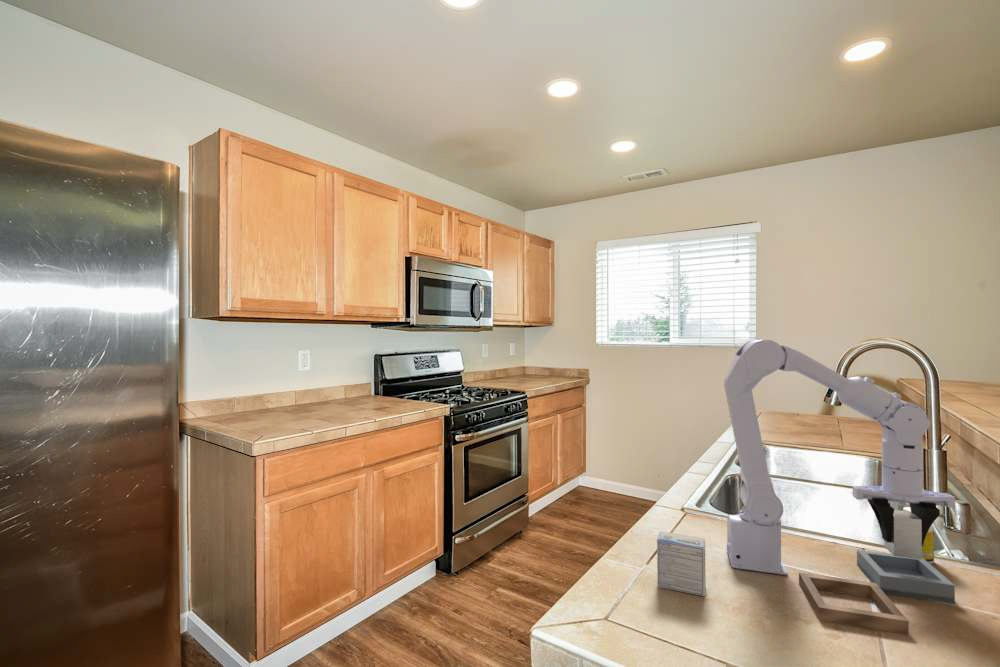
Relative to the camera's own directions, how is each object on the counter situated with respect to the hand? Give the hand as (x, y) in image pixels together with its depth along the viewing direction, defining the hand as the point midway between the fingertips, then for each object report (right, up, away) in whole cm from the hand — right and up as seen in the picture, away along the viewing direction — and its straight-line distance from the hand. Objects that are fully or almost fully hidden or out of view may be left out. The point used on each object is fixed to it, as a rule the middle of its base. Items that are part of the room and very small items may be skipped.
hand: (902, 541), depth 86 cm
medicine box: (-41, -8, -1) cm, 41 cm away
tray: (0, -7, 0) cm, 7 cm away
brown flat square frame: (-15, -7, -7) cm, 19 cm away
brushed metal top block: (0, -2, 0) cm, 2 cm away
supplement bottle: (+10, -8, +9) cm, 16 cm away
